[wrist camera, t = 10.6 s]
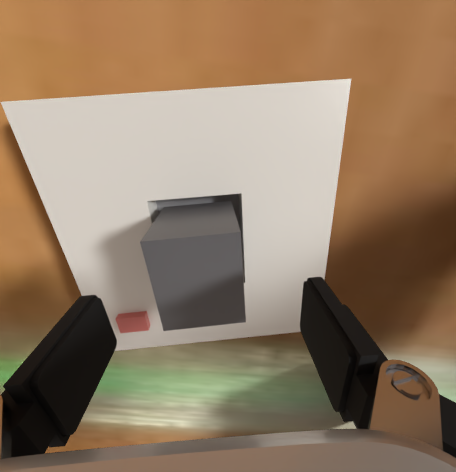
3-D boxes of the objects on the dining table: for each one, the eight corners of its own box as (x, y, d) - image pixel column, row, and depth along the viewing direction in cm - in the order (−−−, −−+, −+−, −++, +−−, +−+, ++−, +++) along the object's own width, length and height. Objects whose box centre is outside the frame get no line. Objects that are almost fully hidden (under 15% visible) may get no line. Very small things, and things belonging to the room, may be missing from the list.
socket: (327, 89, 16) (357, 76, 12) (305, 307, 24) (320, 335, 21) (38, 108, 15) (-10, 100, 12) (117, 326, 23) (102, 357, 20)
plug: (230, 196, 18) (240, 231, 11) (234, 261, 20) (245, 322, 14) (166, 202, 18) (139, 241, 11) (179, 267, 20) (163, 331, 13)
